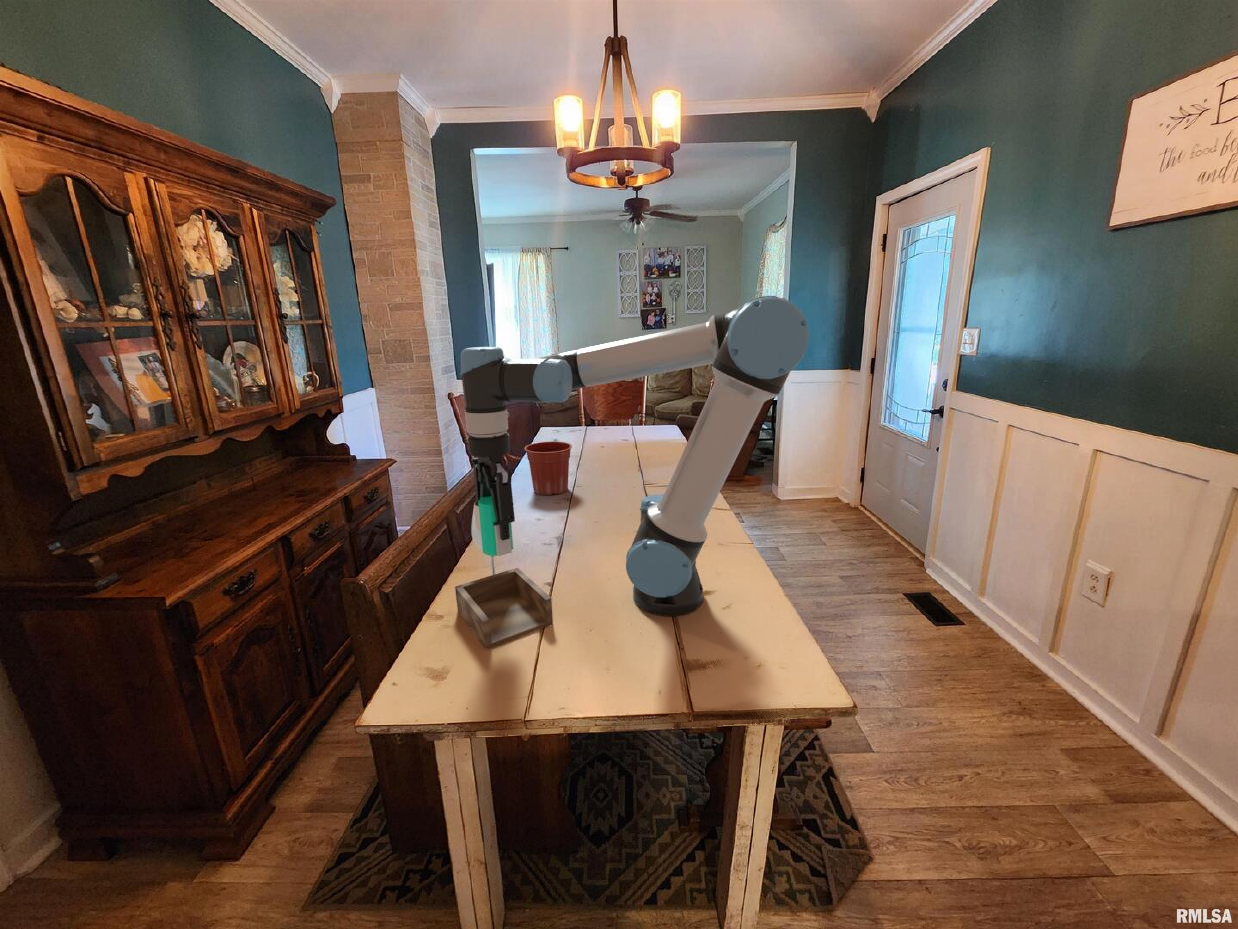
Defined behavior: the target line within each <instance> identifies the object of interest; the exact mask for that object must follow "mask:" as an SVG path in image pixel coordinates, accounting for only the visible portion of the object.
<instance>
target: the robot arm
mask: <svg viewBox="0 0 1238 929" xmlns="http://www.w3.org/2000/svg"><path fill="white" fill-rule="evenodd" d="M809 331H810V329H809V325H808V322H807V320H806V317H805V316H804V313H803V311H802V310H801V309H800V308H799V307H798V306H796V305H795V303H793V302H792V301H789V300H788V299H786V298H783V297H779V296H778V297H777V296H776V295H763V296H759V297H756V298H753V299H750V300H749V301H748V302H746V303H744V304H743V305H741V306H740V307H738V308H735V309H733V310H730V311H727V312H726V311H725V312H722V313H719V314H713V315H712V316H710V318H709V319H708V321H707V322H703V323H697V324H693V325H689V326H683V327H678V328H673V329H669V330H665V331H658V332H655V333H651V334H650V333H649V334H645V335H641V336H636V337H630V338H626V339H621V340H617V341H612V342H607V343H602V344H598V345H593V346H588V347H583V348H582V347H581V348H579V349H575V350H568V351H562V352H561V351H560V352H556V353H553V354H550V355H546V356H542V357H537V358H513V359H512V358H506V357H505V355H504V350H503V349H502V348H501V347H498V346H495V347H494V346H478V347H477V346H476V347H467V348H464V349H462V351H460V352H461V353H460V376H461V382H462V391H463V400H464V418H465V419H464V420H465V430H466V432H467V433H468V436H467V447H468V454H469V455H470V456H472V457H474V458H472V461H471V462H472V467H473V474H474V477H473V478H474V490H475V502H476V504H477V506H479V505H478V501H479V500H480V499H481V497H490V496H492V501H493V506H494V512H495V517H496V522H493V525H494V526H495V537H496V549H497V555H498V557H500V556H501V557H502V556H504V555H508V554H511V553H513V552H512V551H513V550H512V549H511V535H510V523H511V524H512V523H514V522H515V508H514V499H513V498H514V497H513V490H512V489H513V488H512V474H513V473H512V471H511V470H506V466H505V463H504V460H503V457H504V455H507V454H509V453H510V450H511V445H510V443H511V441H510V434H509V433H508V432H507V431H508V430H509V419H508V418H509V417H510V413H509V412H508V402H510V403H511V402H521V403H523V402H525V403H526V402H529V403H545V404H552V403H564V402H566V401H567V400H568V399H569V398H570V395H571V394H572V391H573V390H579V389H585V388H587V387H588V388H589V387H594V386H599V385H604V384H610V383H616V382H620V381H621V382H622V381H626V380H632V379H636V378H637V379H638V378H642V377H647V376H653V375H659V374H664V373H669V372H670V373H671V372H674V371H675V372H676V371H680V370H686V369H692V368H697V367H702V366H708V365H711V370H712V373H713V375H714V379H715V380H714V383H713V385H712V388H711V389H710V392H709V394H708V395H707V396H708V397H707V398H706V400H705V403H704V405H703V407H702V409H701V411H700V414H699V415H698V419H697V420H696V423H695V425H694V427H693V429H692V432H691V434H690V436H689V438H688V440H687V443H686V445H685V447H684V449H683V451H682V454H681V456H680V458H679V460H678V463H677V464H676V467H675V469H674V471H673V473H672V475H671V477H670V480H669V482H668V485H667V486H666V489H665V491H664V493H662V494H652V495H648V496H644V498H643V499H642V500H641V504H640V508H639V511H640V523H639V526H638V529H637V531H636V534H635V537H634V539H633V541H632V544H631V546H630V547H629V549H628V551H627V553H626V560H625V570H626V574H627V576H628V579H629V580H630V582H631V583H632V585H633V587H632V589H633V590H632V598H633V602H634V603H635V604H636V606H637V607H638V608H640V609H641V610H643V611H645V612H648V613H650V614H652V615H656V616H657V615H658V616H665V617H677V616H683V615H686V614H690V613H692V612H694V611H697V610H698V609H699V608H700V607H701V606H702V604H703V601H704V589H703V584H702V583H701V578H700V575H699V572H698V569H697V566H696V565H697V563H696V562H697V561H696V560H697V558H698V556H699V554H700V551H701V550H702V548H703V545H704V544H705V541H706V540H707V539H708V538H707V537H708V530H707V529H706V526H705V522H706V521H707V519H708V517H709V515H710V512H711V510H712V509H713V506H714V504H715V502H716V501H717V498H718V496H719V495H720V493H721V490H722V488H723V486H724V484H725V482H726V480H727V479H728V476H729V474H730V472H731V470H732V468H733V466H734V464H735V462H736V459H737V457H738V456H739V454H740V453H741V452H740V451H741V449H742V447H743V446H744V444H745V441H746V440H747V438H748V436H749V433H750V431H751V429H752V428H753V425H754V424H755V421H756V419H757V417H758V415H759V414H760V412H761V409H762V407H763V405H764V403H766V402H767V401H769V400H772V399H774V398H776V397H778V396H779V395H780V393H781V391H782V389H783V387H784V384H786V381H787V379H788V377H789V375H790V373H791V371H793V370H794V369H795V368H796V367H797V366H798V365H799V363H800V362H801V361H802V359H803V358H804V356H805V355H806V351H807V349H808V345H809V338H810V332H809Z"/></svg>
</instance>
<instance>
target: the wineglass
mask: <svg viewBox="0 0 1238 929" xmlns="http://www.w3.org/2000/svg"><path fill="white" fill-rule="evenodd" d="M471 537H472V540H473V543H474V544H475V545H476V547H478V548H479V549H481V550H483V549H482V538H481V527H480V516H479V506H477V504H476V501H475V502H474V504H473V510H472V518H471ZM489 557H490V558H489V559H490V566H491V575H495V574H496V570H495V568H496V567H495V556H490V555H489Z"/></svg>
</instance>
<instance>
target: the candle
mask: <svg viewBox="0 0 1238 929" xmlns="http://www.w3.org/2000/svg"><path fill="white" fill-rule="evenodd" d="M478 505H479V516H480V527H481V538H482V549H481V550H482V554H484V555H486V556H489V557H490V556H494V557H496V556H498V555H497V549H496V537H495V526H494V525H493V522H496V517H495V512H494V506H493V501H492V496H490V497H481V499H480V500H479V501H478ZM512 528H513V526H512V522H511V523H510V535H511V549H512V551H513V549H514V545H513V544H514V543H513V541H514V540H513V529H512ZM498 557H499V556H498Z"/></svg>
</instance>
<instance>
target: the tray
mask: <svg viewBox="0 0 1238 929" xmlns="http://www.w3.org/2000/svg"><path fill="white" fill-rule="evenodd" d="M454 591H455V597H456V598H455V599H456V607H457V608H456V609H457V612H458V614H459V616H460V617H462V619H463V621H465V623H466V624H467V626H468V627H469V629H470V630H471V631H472V633H473V634H474V636H475V637H476V638H477V639H478V641H479V642H480V643H481V645H482V647H484V649H485V650H488V649H490V648H493V647H495V646H497V645H501V644H503V643H506V642H508V641H512V640H514V639H516V638H519V637H522V636H525V635H527V634H530V633H533V632H535V631H537V630H541V629H543V628H545V627H548V626H550V625H553V623H554V622H553V621H554V618H553V604H552V603H553V602H552V597H551V596H550V595H549V594H548V593H546V592H545V591H544V590H543V589H542V587H540V586H539V585H538V584H536V583H535V582H534V581H533V580H532V579H531V578H530V577H528V575H526V574H525V572H523V571H522V570H521V569H520V568H519V567H514V568H512V569H509V570H508V569H507V570H505V571H502V572H501V571H500V572H499V573H495V575H492V574H491V575H489V576H486V577H482V578H479V579H475V580H472V581H469V582H465V583H463V584H458V585H456V586H454Z"/></svg>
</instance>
